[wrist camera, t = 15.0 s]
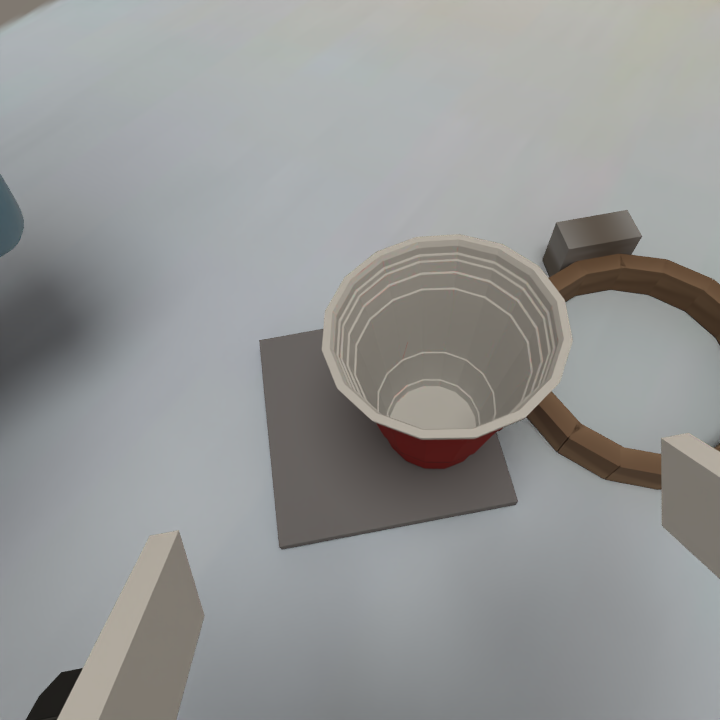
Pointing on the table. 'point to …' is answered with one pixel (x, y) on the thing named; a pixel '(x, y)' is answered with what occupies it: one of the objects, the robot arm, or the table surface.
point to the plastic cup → (445, 343)
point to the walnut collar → (623, 273)
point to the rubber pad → (354, 458)
